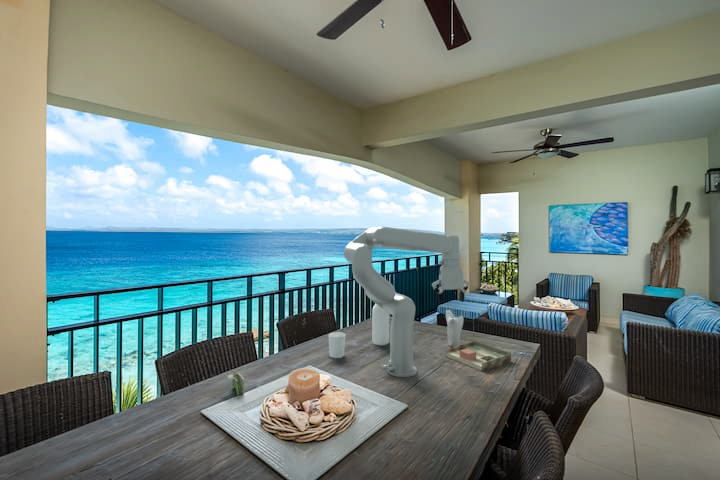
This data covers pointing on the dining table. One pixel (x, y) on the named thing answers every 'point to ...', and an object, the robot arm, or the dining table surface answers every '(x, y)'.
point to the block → (467, 354)
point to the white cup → (336, 344)
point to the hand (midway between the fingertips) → (451, 301)
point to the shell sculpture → (453, 328)
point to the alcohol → (380, 326)
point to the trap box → (480, 356)
